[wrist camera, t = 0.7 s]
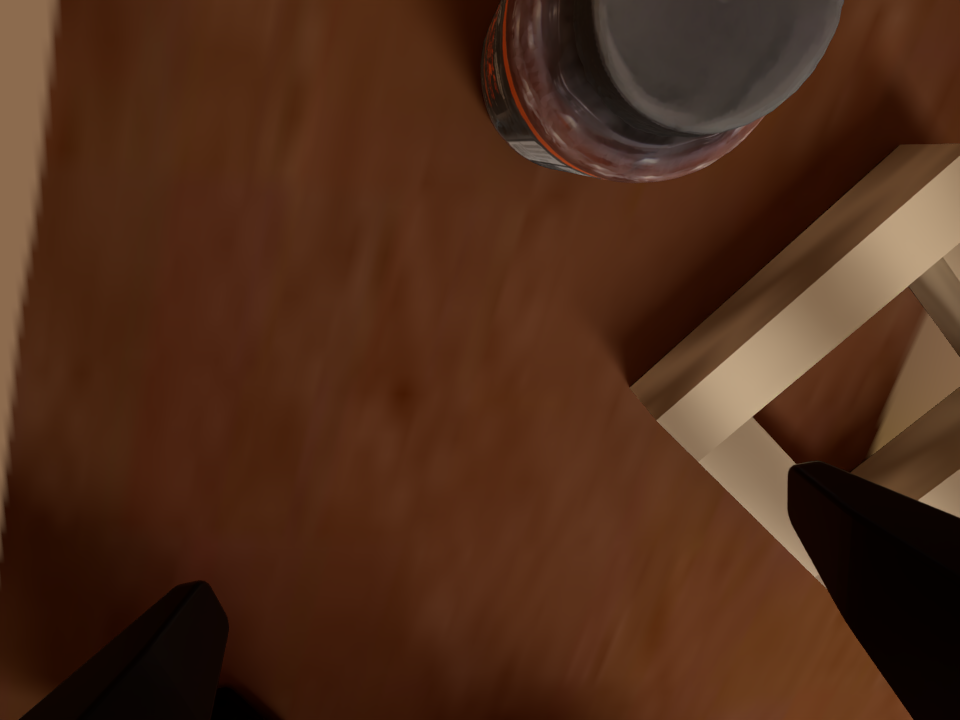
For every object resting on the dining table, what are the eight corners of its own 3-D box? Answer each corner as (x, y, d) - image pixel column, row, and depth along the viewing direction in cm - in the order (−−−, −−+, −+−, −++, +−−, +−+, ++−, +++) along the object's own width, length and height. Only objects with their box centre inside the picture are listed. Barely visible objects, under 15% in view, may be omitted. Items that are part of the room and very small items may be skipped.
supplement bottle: (495, -48, 18) (584, -343, 7) (675, -4, 19) (996, -213, 8) (463, 153, 20) (495, 156, 9) (626, 185, 20) (833, 222, 10)
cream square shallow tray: (804, 560, 27) (847, 608, 24) (629, 387, 23) (656, 420, 20) (1051, 373, 24) (1131, 402, 22) (900, 144, 21) (973, 143, 18)
